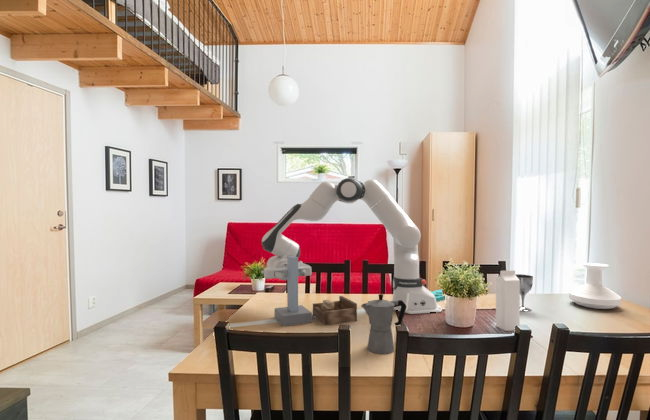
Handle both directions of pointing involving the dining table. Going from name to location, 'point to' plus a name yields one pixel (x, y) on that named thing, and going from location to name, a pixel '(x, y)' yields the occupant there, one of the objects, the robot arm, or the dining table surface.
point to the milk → (507, 300)
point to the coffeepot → (382, 324)
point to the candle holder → (595, 290)
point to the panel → (292, 283)
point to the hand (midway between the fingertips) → (293, 274)
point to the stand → (293, 316)
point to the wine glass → (524, 288)
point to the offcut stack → (327, 305)
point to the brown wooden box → (337, 312)
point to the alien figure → (438, 295)
